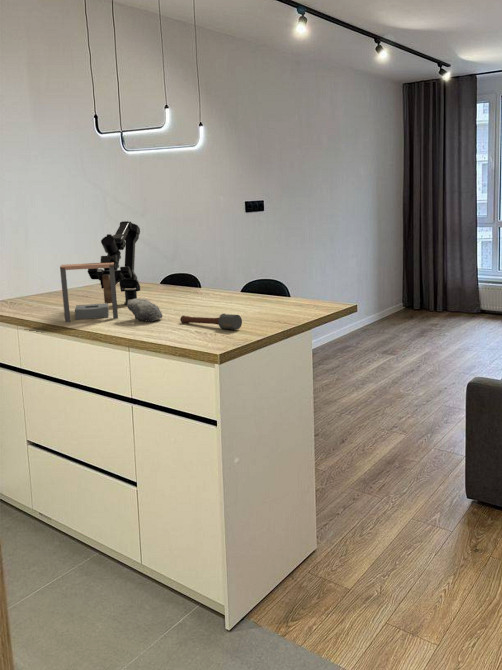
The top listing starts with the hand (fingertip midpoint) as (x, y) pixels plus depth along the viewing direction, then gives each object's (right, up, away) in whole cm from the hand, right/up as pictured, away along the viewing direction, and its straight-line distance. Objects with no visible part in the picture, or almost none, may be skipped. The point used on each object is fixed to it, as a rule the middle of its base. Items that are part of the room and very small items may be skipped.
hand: (106, 288), depth 275 cm
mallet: (+47, -17, -27) cm, 56 cm away
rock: (+18, -14, -9) cm, 25 cm away
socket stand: (-7, -12, +3) cm, 15 cm away
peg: (0, -6, +3) cm, 7 cm away
